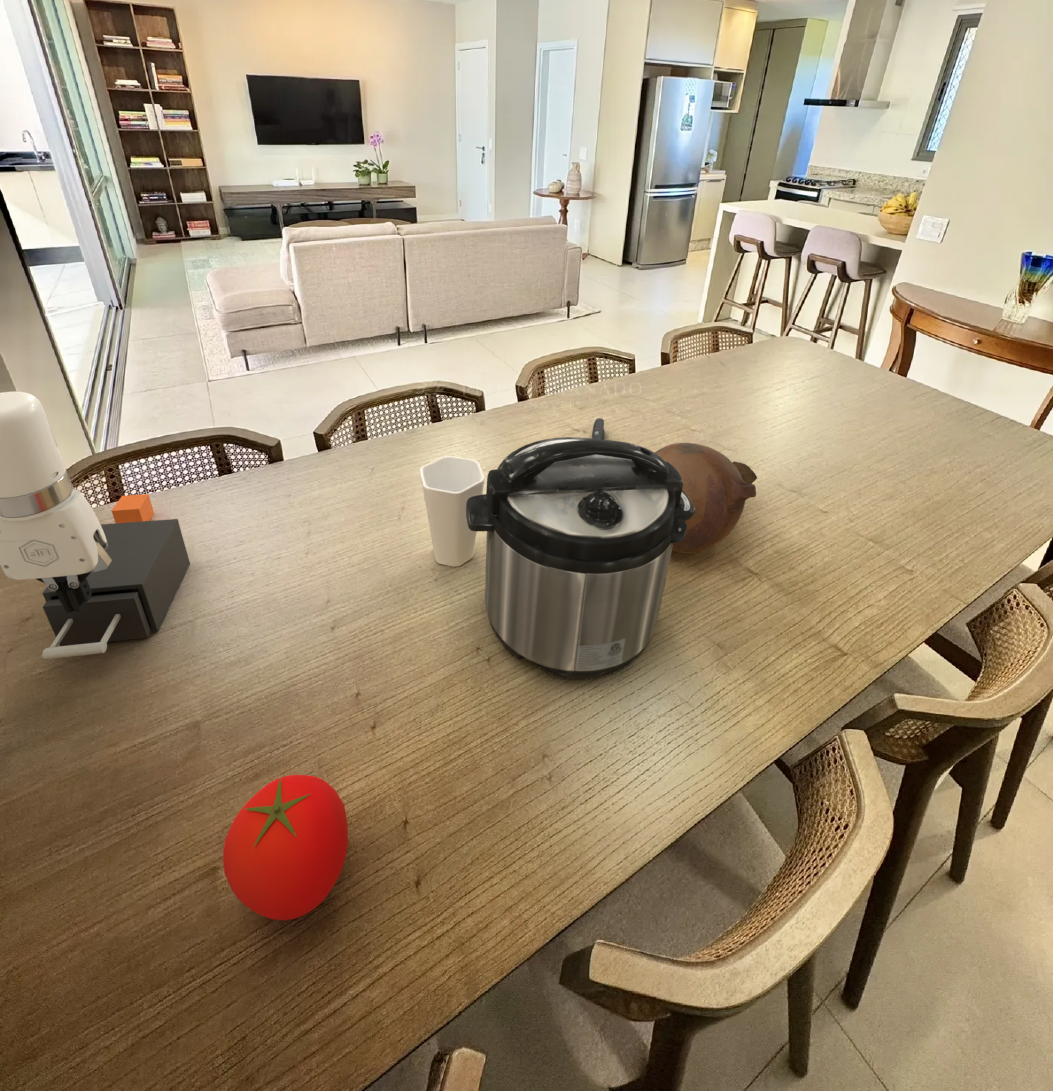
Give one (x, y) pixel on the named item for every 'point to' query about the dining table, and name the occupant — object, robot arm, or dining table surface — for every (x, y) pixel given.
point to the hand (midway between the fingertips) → (79, 604)
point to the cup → (451, 506)
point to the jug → (709, 492)
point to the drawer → (96, 623)
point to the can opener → (598, 429)
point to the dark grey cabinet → (142, 565)
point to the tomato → (287, 847)
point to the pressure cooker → (578, 551)
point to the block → (133, 509)
